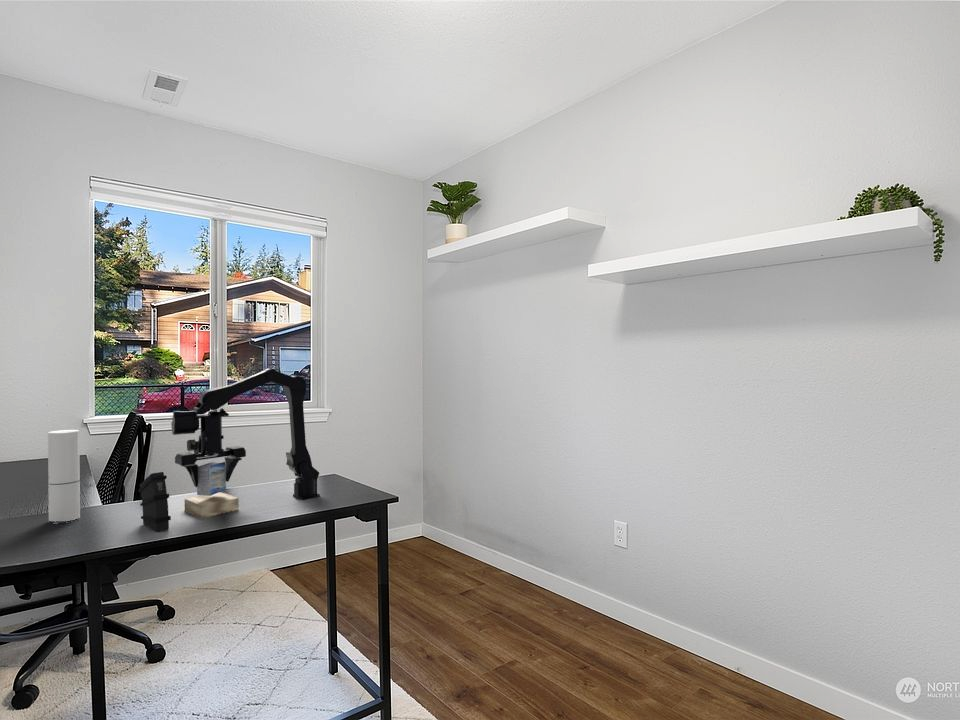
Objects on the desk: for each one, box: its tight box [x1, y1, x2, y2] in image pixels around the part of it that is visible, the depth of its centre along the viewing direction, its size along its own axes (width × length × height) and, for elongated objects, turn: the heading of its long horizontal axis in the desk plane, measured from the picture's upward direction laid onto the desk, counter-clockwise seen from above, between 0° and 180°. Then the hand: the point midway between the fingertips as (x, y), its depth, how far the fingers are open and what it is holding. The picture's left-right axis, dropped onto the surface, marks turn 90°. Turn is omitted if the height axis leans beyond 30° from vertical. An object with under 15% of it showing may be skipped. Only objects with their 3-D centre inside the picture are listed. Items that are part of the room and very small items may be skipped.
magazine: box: [137, 471, 172, 533], centre depth 155 cm, size 4×13×15 cm, turn 48°
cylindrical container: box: [47, 429, 81, 522], centre depth 161 cm, size 7×7×25 cm
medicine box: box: [196, 460, 227, 496], centre depth 170 cm, size 8×4×9 cm, turn 171°
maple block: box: [184, 491, 239, 519], centre depth 170 cm, size 11×11×4 cm
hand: (211, 484), depth 170 cm, fingers closed on medicine box, 9 cm apart
